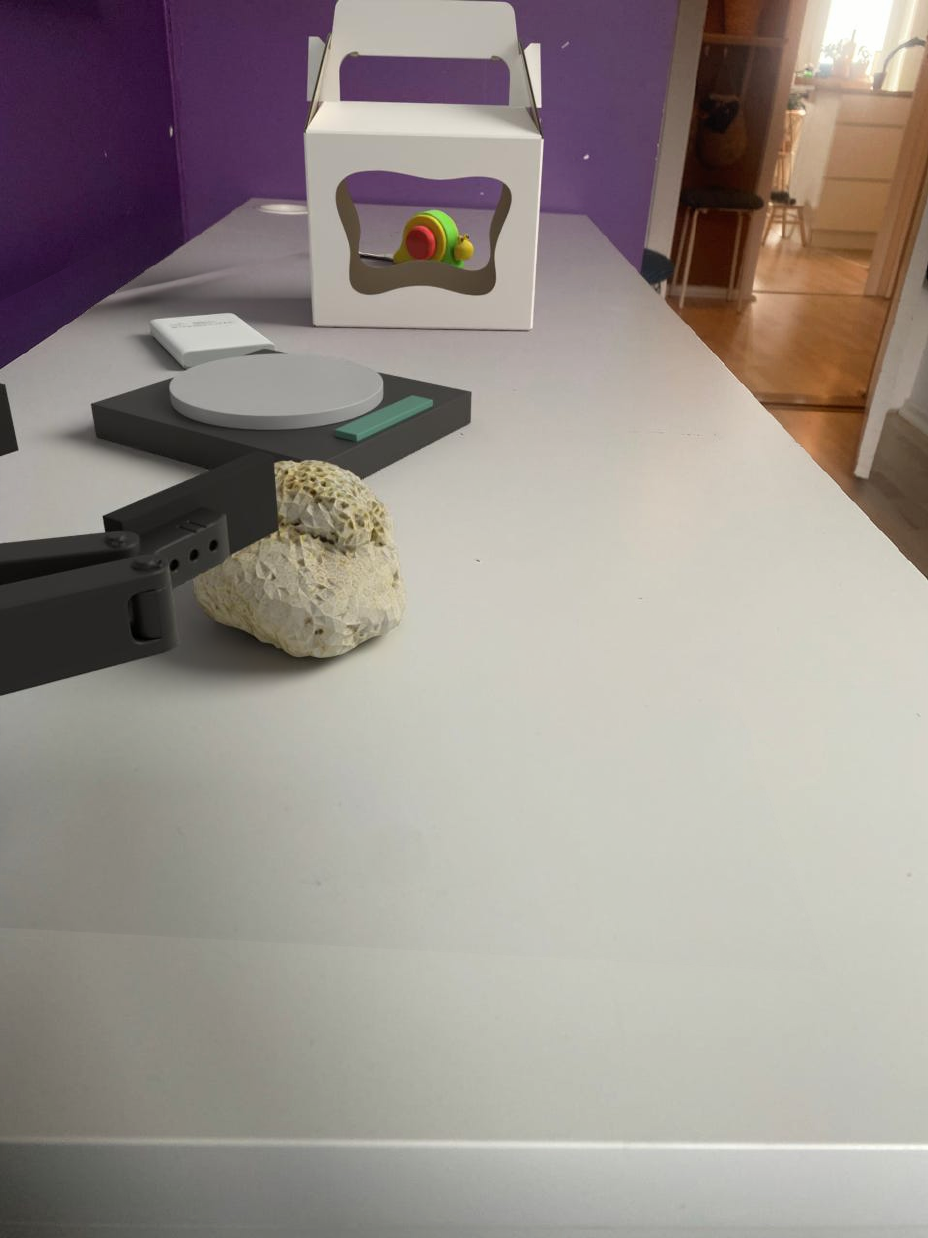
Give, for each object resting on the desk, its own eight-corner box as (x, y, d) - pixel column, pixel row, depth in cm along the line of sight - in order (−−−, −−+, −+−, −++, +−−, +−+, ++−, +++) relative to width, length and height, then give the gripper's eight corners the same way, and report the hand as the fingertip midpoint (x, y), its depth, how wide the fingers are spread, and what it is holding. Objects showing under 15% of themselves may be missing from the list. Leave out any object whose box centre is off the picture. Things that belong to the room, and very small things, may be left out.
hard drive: (183, 371, 85) (150, 335, 94) (276, 360, 88) (235, 327, 98) (181, 351, 84) (148, 318, 93) (275, 342, 87) (234, 310, 97)
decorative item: (161, 493, 52) (334, 404, 52) (247, 629, 55) (407, 546, 56) (145, 573, 41) (363, 460, 41) (253, 735, 45) (453, 631, 45)
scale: (95, 436, 70) (87, 389, 69) (266, 376, 84) (263, 336, 82) (320, 501, 62) (318, 448, 60) (470, 422, 75) (472, 377, 73)
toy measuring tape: (458, 276, 122) (459, 218, 119) (331, 256, 131) (329, 202, 127) (484, 268, 127) (486, 212, 124) (361, 250, 135) (359, 197, 132)
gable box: (524, 301, 111) (540, 5, 97) (534, 331, 100) (555, 0, 86) (322, 297, 110) (309, -2, 96) (310, 326, 99) (293, -8, 85)
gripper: (-744, 701, 28) (-61, 474, 44) (-281, 1150, 17) (406, 633, 33) (-918, 449, 25) (-104, 300, 41) (-470, 816, 14) (406, 414, 30)
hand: (127, 450), depth 37 cm, fingers open, 13 cm apart
